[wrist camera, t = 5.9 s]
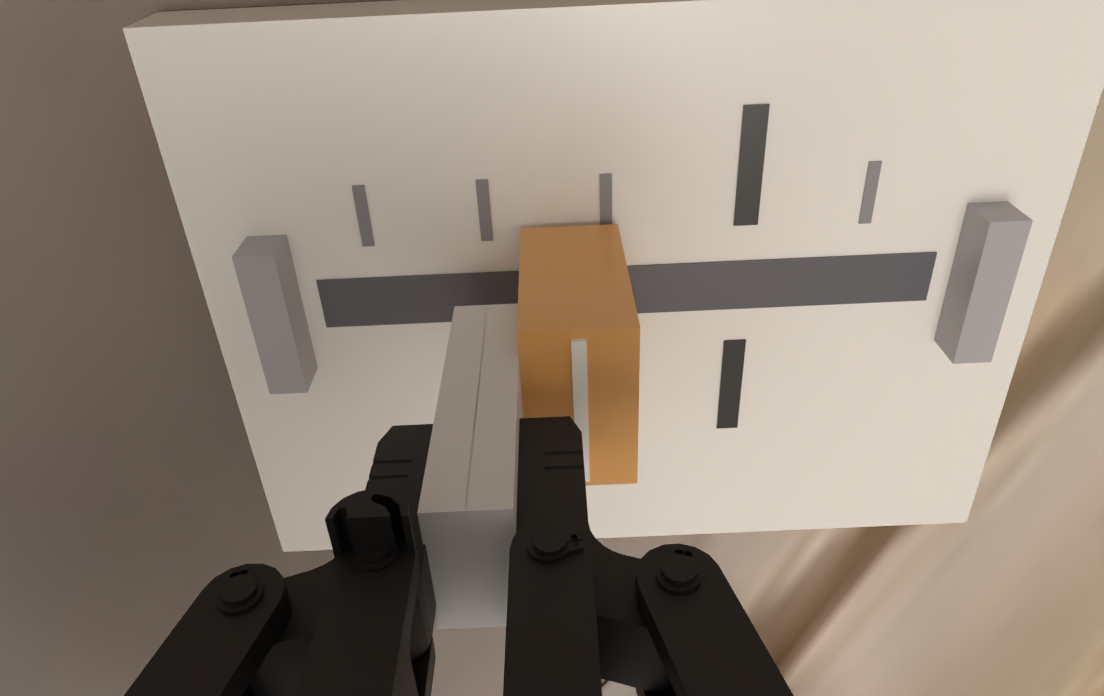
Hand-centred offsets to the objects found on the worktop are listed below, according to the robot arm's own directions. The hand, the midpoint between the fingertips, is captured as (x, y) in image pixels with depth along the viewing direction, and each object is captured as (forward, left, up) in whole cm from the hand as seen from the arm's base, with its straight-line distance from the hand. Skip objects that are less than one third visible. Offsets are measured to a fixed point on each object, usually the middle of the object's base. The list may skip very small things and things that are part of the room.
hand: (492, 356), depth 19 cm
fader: (+2, 0, -3) cm, 4 cm away
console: (+3, -1, -5) cm, 6 cm away
